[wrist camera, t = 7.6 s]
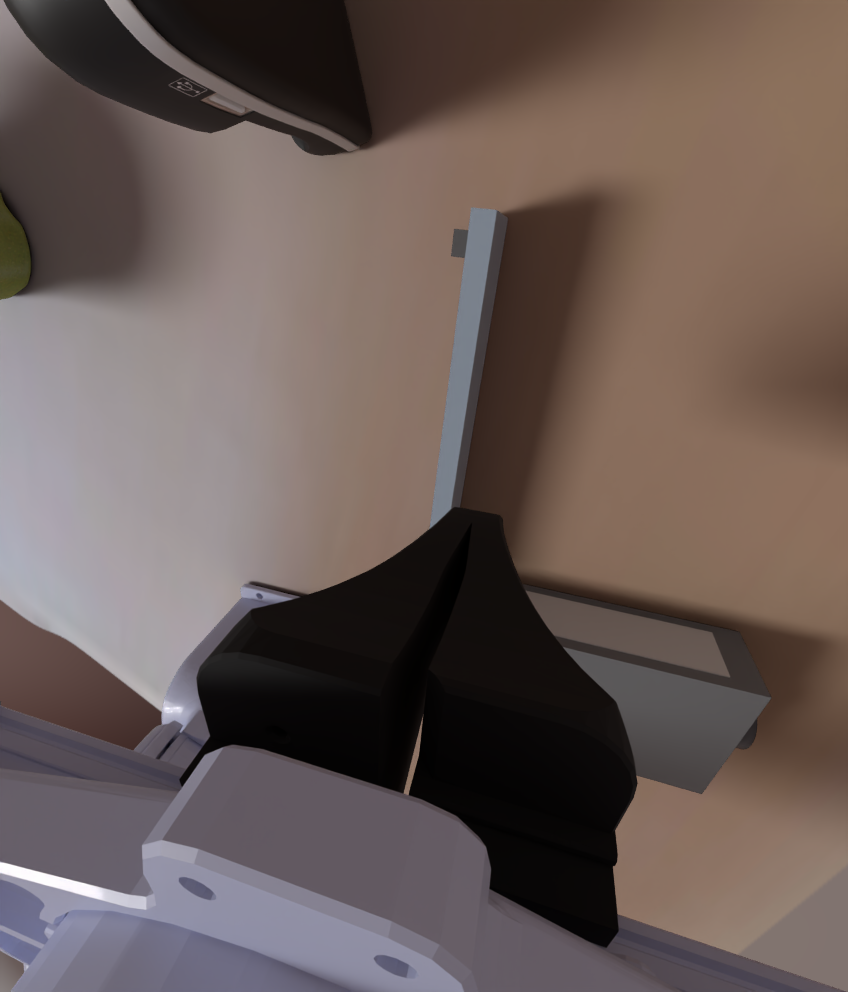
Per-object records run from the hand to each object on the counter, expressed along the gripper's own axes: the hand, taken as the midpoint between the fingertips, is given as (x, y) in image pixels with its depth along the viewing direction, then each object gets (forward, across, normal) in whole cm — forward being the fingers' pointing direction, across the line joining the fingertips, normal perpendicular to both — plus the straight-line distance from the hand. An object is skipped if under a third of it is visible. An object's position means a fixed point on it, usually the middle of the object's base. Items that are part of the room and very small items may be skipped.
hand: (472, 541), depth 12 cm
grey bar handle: (+10, +2, 0) cm, 10 cm away
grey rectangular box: (+10, -6, +13) cm, 18 cm away
